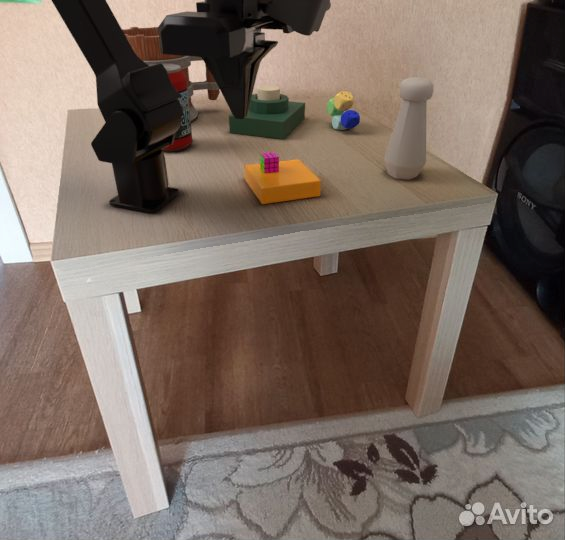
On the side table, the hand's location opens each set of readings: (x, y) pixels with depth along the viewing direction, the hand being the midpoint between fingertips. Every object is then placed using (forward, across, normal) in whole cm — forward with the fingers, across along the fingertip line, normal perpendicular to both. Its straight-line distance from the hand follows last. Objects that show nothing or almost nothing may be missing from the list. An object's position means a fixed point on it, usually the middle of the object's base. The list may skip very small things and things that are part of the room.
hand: (240, 118), depth 49 cm
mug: (+12, +35, +29) cm, 47 cm away
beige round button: (+7, +36, +10) cm, 38 cm away
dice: (+12, +39, -3) cm, 41 cm away
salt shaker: (+12, +21, -16) cm, 29 cm away
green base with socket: (+12, +36, +10) cm, 39 cm away
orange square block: (+12, +10, -1) cm, 16 cm away
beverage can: (+12, +20, +21) cm, 32 cm away
